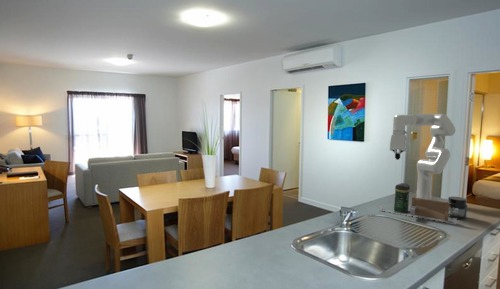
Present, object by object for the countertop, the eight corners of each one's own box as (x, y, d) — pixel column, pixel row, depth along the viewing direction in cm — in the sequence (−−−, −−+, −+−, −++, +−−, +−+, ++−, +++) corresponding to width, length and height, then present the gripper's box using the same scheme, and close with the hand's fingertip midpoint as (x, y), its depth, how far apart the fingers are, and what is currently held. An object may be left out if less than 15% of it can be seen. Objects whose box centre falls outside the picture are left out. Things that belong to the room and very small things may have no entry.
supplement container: (460, 214, 197) (461, 196, 196) (470, 220, 187) (471, 200, 186) (442, 214, 198) (444, 195, 197) (452, 219, 188) (453, 200, 187)
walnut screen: (411, 213, 195) (412, 196, 194) (448, 220, 183) (449, 202, 182) (408, 217, 187) (409, 200, 186) (446, 224, 175) (447, 205, 174)
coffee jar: (404, 214, 198) (406, 185, 196) (392, 211, 203) (393, 183, 202) (410, 210, 204) (411, 183, 203) (397, 208, 210) (399, 181, 208)
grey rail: (380, 209, 207) (380, 205, 206) (456, 223, 181) (456, 218, 180) (378, 210, 204) (379, 206, 204) (456, 224, 178) (456, 219, 178)
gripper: (411, 133, 209) (410, 159, 211) (388, 132, 218) (387, 157, 220) (409, 133, 203) (408, 161, 205) (385, 132, 213) (384, 159, 214)
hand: (397, 159), depth 213 cm, fingers closed
